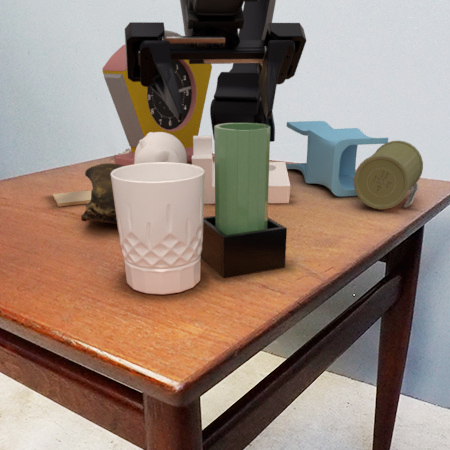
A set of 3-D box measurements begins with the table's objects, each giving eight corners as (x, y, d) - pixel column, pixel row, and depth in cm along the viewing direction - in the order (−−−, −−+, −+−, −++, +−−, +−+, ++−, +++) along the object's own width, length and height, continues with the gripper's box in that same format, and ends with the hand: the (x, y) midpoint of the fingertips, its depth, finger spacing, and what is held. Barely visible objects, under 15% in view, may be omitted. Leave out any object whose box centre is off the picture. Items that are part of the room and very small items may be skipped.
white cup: (124, 265, 53) (115, 162, 49) (204, 263, 54) (202, 161, 49) (116, 300, 46) (105, 183, 42) (209, 296, 47) (207, 180, 42)
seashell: (90, 198, 75) (97, 147, 72) (154, 211, 76) (164, 162, 73) (64, 234, 60) (71, 172, 57) (145, 250, 61) (155, 190, 58)
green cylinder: (252, 249, 57) (254, 121, 52) (274, 266, 53) (279, 127, 47) (208, 256, 55) (205, 124, 50) (228, 274, 51) (227, 131, 46)
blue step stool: (330, 197, 76) (284, 169, 94) (381, 194, 78) (326, 167, 95) (335, 139, 73) (286, 121, 90) (388, 137, 74) (330, 120, 92)
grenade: (379, 228, 71) (405, 195, 82) (427, 199, 66) (447, 169, 78) (342, 175, 70) (373, 149, 81) (388, 143, 65) (414, 120, 77)
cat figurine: (161, 128, 72) (166, 114, 83) (98, 172, 74) (111, 153, 85) (198, 182, 76) (198, 162, 86) (137, 222, 78) (145, 198, 89)
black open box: (255, 246, 58) (256, 210, 56) (285, 267, 53) (287, 227, 51) (199, 255, 56) (198, 217, 54) (223, 278, 50) (223, 237, 49)
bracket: (193, 210, 74) (191, 158, 69) (195, 184, 80) (193, 135, 75) (288, 209, 74) (292, 157, 69) (283, 184, 80) (287, 135, 75)
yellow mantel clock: (138, 175, 89) (127, 29, 80) (102, 168, 94) (88, 30, 85) (222, 155, 105) (221, 31, 95) (187, 150, 110) (183, 31, 101)
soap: (137, 158, 102) (136, 153, 102) (114, 157, 103) (113, 152, 103) (151, 150, 111) (151, 146, 111) (130, 149, 112) (129, 145, 112)
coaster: (91, 193, 79) (91, 190, 79) (99, 202, 75) (98, 198, 74) (53, 197, 77) (52, 193, 77) (58, 206, 73) (57, 203, 72)
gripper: (116, -74, 51) (130, 57, 46) (305, -68, 54) (338, 55, 49) (122, 23, 61) (133, 138, 56) (280, 23, 65) (305, 132, 59)
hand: (225, 116), depth 55 cm, fingers open, 9 cm apart
